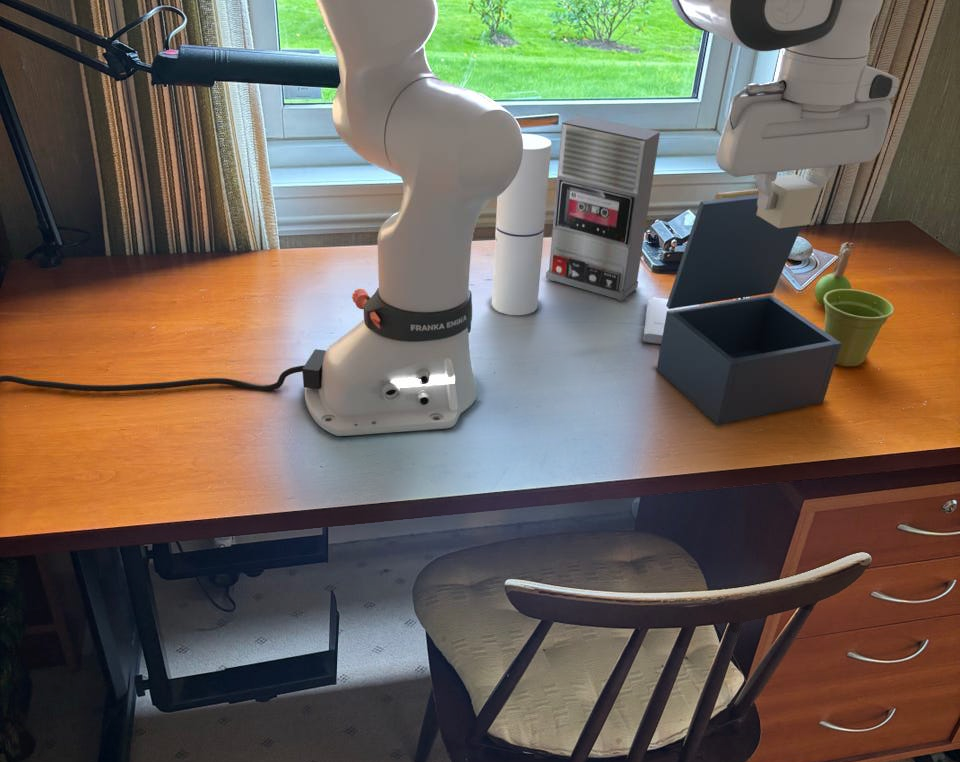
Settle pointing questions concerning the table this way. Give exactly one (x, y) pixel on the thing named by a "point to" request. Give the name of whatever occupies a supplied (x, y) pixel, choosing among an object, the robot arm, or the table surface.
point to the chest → (746, 358)
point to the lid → (731, 252)
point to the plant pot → (854, 322)
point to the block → (791, 202)
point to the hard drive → (656, 319)
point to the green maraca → (835, 275)
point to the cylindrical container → (521, 231)
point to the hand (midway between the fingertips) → (786, 205)
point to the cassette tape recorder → (601, 205)
